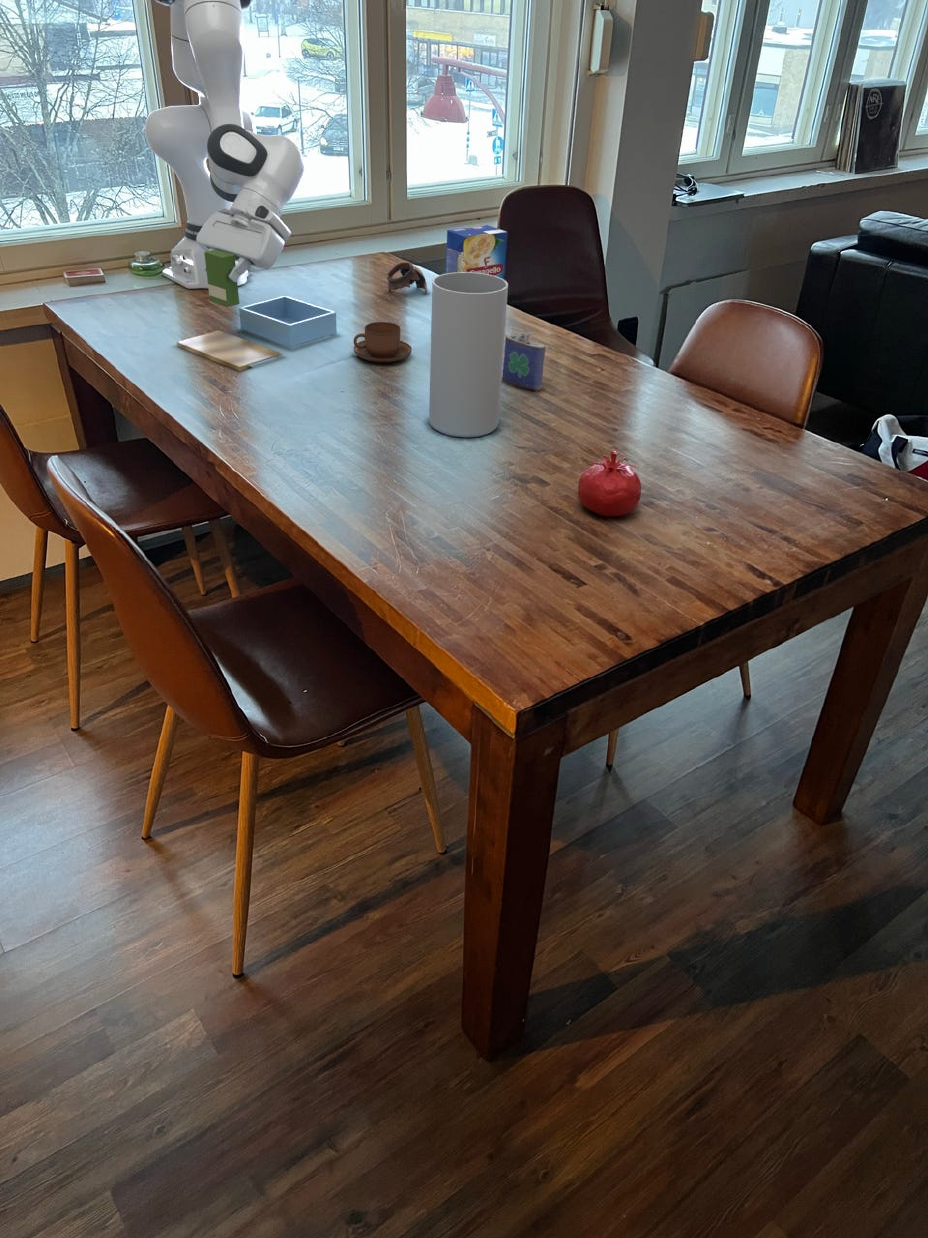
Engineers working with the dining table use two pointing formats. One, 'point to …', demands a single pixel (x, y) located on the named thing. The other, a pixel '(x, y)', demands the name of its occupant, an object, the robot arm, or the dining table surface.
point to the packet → (221, 278)
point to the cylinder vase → (466, 352)
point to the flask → (523, 362)
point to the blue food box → (476, 250)
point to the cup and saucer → (381, 343)
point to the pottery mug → (406, 277)
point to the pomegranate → (610, 487)
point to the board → (227, 350)
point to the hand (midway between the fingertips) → (219, 276)
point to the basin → (288, 321)
